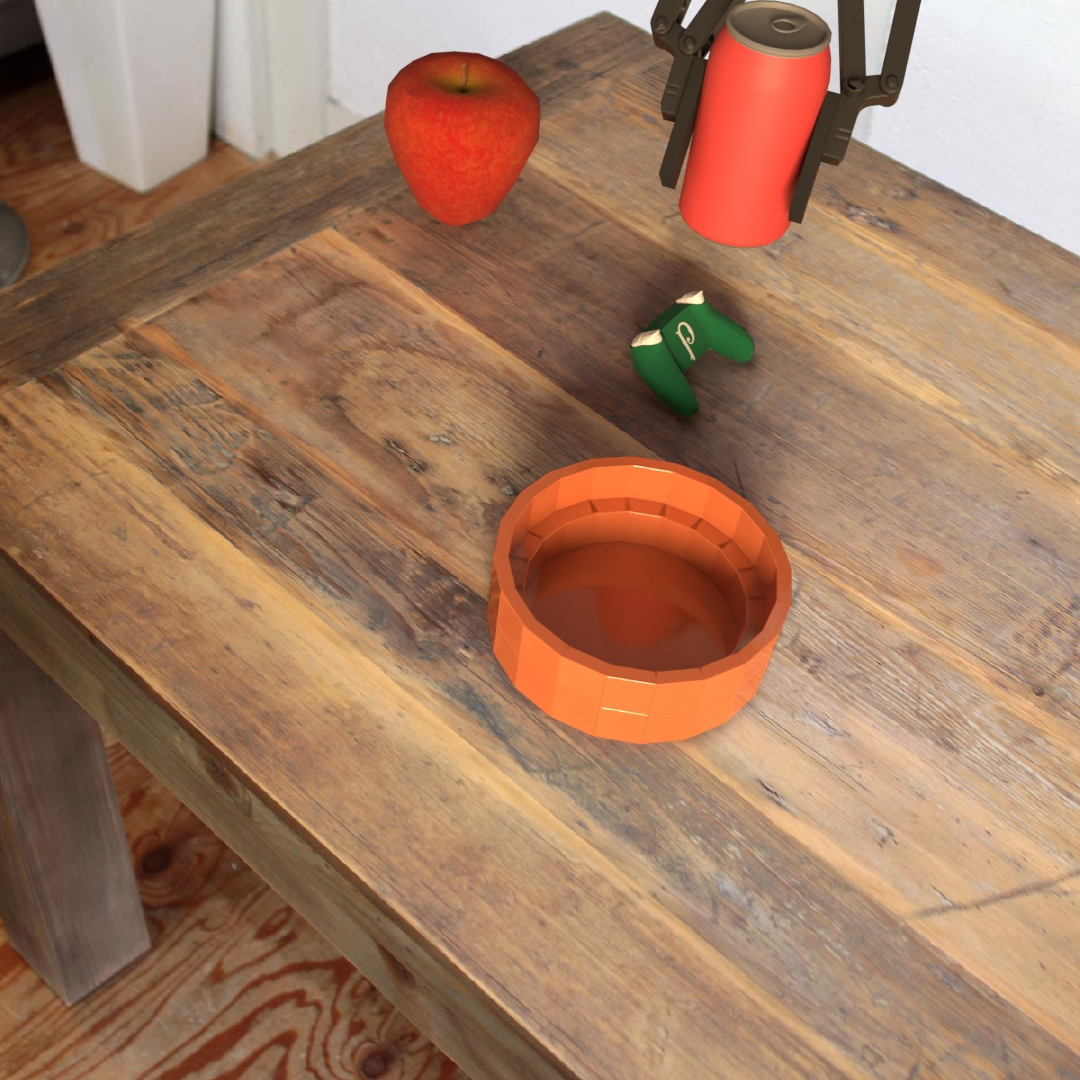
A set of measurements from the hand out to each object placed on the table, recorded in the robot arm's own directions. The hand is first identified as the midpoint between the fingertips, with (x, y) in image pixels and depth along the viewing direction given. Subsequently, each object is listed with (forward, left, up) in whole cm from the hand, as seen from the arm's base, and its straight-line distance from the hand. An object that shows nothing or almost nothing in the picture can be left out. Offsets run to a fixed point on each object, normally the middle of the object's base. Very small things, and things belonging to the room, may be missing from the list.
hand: (730, 198), depth 73 cm
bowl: (+2, +17, -17) cm, 24 cm away
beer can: (-1, -3, -4) cm, 5 cm away
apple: (+18, -20, -18) cm, 32 cm away
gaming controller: (0, -6, -18) cm, 18 cm away
